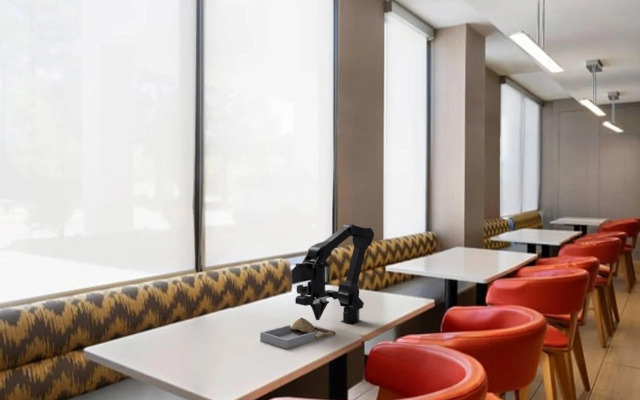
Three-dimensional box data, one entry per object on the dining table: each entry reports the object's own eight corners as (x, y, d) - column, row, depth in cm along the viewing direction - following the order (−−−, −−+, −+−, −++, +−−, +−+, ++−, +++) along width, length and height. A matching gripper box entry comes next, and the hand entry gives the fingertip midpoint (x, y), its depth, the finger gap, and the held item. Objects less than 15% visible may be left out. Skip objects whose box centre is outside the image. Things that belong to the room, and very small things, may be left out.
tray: (289, 332, 186) (289, 325, 186) (315, 340, 176) (315, 332, 176) (260, 340, 176) (260, 332, 176) (286, 349, 166) (286, 340, 166)
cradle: (304, 327, 194) (304, 323, 194) (335, 335, 182) (335, 331, 182) (286, 332, 187) (286, 328, 187) (317, 341, 176) (317, 336, 176)
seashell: (304, 332, 180) (292, 316, 185) (298, 342, 183) (287, 327, 187) (320, 327, 186) (308, 312, 190) (315, 337, 188) (303, 322, 193)
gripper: (319, 274, 200) (319, 312, 200) (285, 279, 186) (285, 320, 186) (340, 277, 192) (339, 317, 192) (306, 283, 178) (305, 326, 178)
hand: (317, 320), depth 187 cm, fingers closed
